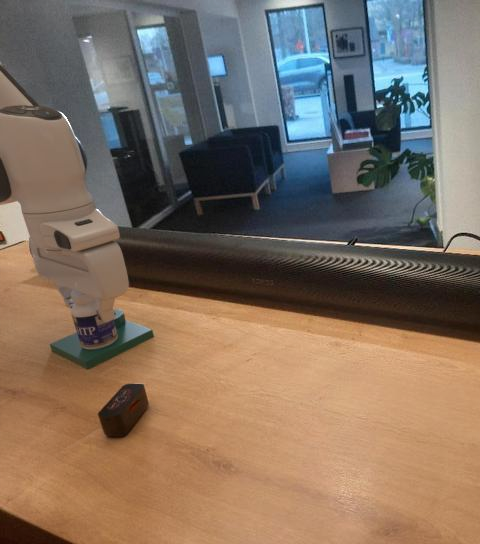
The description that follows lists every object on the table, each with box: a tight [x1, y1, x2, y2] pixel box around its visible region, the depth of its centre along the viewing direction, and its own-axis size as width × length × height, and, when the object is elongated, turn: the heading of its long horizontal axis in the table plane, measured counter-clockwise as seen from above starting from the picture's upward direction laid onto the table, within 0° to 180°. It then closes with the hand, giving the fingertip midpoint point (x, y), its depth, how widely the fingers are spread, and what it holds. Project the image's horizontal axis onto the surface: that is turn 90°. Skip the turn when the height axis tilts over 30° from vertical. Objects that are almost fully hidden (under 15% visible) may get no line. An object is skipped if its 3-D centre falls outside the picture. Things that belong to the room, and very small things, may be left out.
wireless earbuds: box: [97, 383, 150, 437], centre depth 60 cm, size 5×7×3 cm, turn 175°
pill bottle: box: [70, 290, 118, 350], centre depth 76 cm, size 5×5×9 cm
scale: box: [49, 308, 155, 370], centre depth 79 cm, size 11×11×3 cm
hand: (90, 313), depth 75 cm, fingers open, 8 cm apart
